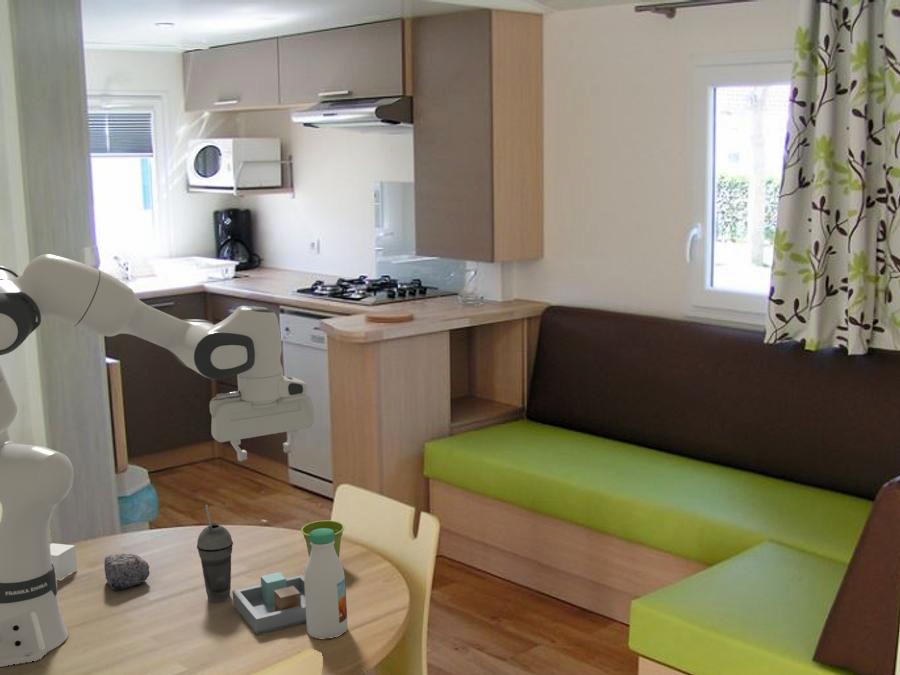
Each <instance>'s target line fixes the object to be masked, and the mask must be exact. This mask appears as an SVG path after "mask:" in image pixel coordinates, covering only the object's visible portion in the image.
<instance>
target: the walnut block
mask: <svg viewBox="0 0 900 675" xmlns="http://www.w3.org/2000/svg"><path fill="white" fill-rule="evenodd" d="M274 600H275V612H276V611H280V610H285V609H289V608H293V607H297V606H301V596H300V592H299V591H298V590H297V589H296V588H295V587H294V586H290V587H286V588H282V589H278V590H274Z"/></svg>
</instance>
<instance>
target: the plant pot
mask: <svg viewBox="0 0 900 675" xmlns="http://www.w3.org/2000/svg"><path fill="white" fill-rule="evenodd" d="M321 528H327V529H331V530H333V531H334V535H335V539H334V540H335V543H334V549H335V551H336V554H337V556H338V558H339V559H340V554H341V553H340V552H341V551H340V550H341V540H342V536H343V531H344V530H345V525H344V524H343V523H342V522H340V521H336V520H330V519H329V520H327V519H326V520H317V521H312V522H309V523H307V524H305V525H304V526H302V527H301V529H300V530H301V533H302V535H303V538H304V539H305V543H306V544H305V545H306V547H307V548H306V549H307V554H308V558H309V557H310V554H311V549H312V545H311V544H310V533H311V532H312V531H313V530H316V529H321Z"/></svg>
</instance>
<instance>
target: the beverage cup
mask: <svg viewBox="0 0 900 675" xmlns="http://www.w3.org/2000/svg"><path fill="white" fill-rule="evenodd" d="M204 506H205V511H206V516H207V523H208V526H206V527H204V528H203V529H202V531H201V532H200V534H199V535H198V538H197V544H196V549H197V552H198V555H199V557H200V562H201V568H202V574H203V580H204V586H205V591H206V592H205V593H206V595H207V601H209V602H211V603H221V602H225V601H228V600H229V599H230V598H231V589H232V588H231V583H232V581H231V580H232V579H231V578H232V553H233V545H234V542H233V539H232V535H231V533H230V531H229V530H228V529H227V528H226V527H224V526H222V525H221V524H212V521H211V515H210V510H209V506H208V504H205V505H204Z"/></svg>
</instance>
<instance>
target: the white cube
mask: <svg viewBox="0 0 900 675" xmlns="http://www.w3.org/2000/svg"><path fill="white" fill-rule="evenodd" d="M50 552H51V563H52V564H53V566H54V568H55V571H56V578H57V579H62V578H63V577H65V576H67V575H68V574H69V573H71V572H73V571H75V570H78V562H77V553H76V552H77V551H76V545H75V544H74V545H73V544H63V543H53V542H52V543H50Z"/></svg>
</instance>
